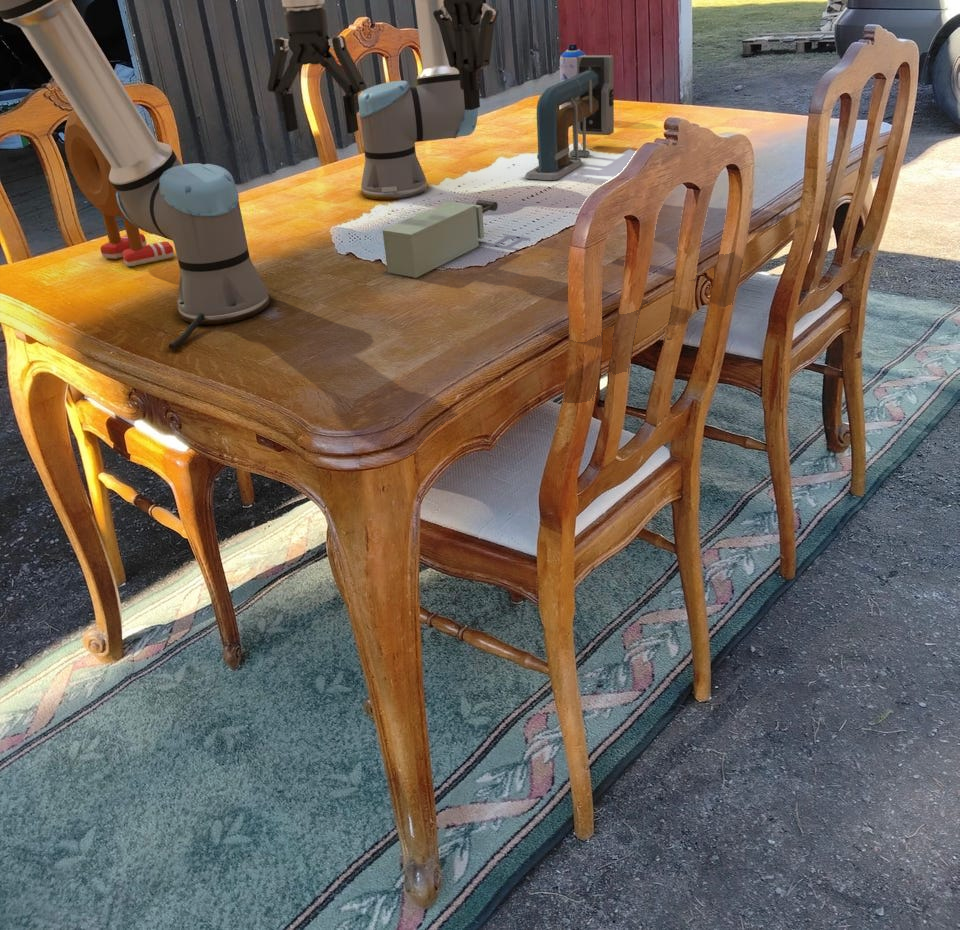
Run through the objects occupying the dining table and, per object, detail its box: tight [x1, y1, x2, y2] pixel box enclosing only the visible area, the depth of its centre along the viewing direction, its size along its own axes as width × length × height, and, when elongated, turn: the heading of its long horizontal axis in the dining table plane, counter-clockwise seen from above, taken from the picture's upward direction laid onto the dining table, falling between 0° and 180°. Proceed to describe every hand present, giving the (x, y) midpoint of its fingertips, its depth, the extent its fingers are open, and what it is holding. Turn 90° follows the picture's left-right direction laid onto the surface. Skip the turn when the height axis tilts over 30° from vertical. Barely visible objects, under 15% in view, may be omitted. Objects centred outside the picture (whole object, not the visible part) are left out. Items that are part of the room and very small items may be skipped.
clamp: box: [524, 54, 615, 181], centre depth 231 cm, size 35×9×21 cm, turn 151°
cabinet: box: [382, 201, 480, 279], centre depth 179 cm, size 19×7×8 cm, turn 144°
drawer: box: [461, 199, 499, 240], centre depth 183 cm, size 24×6×6 cm, turn 144°
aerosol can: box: [559, 43, 586, 109], centre depth 273 cm, size 8×8×20 cm
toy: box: [64, 109, 175, 267], centre depth 188 cm, size 21×10×30 cm, turn 47°
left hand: (322, 131), depth 183 cm, fingers open, 13 cm apart
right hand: (472, 108), depth 179 cm, fingers closed
